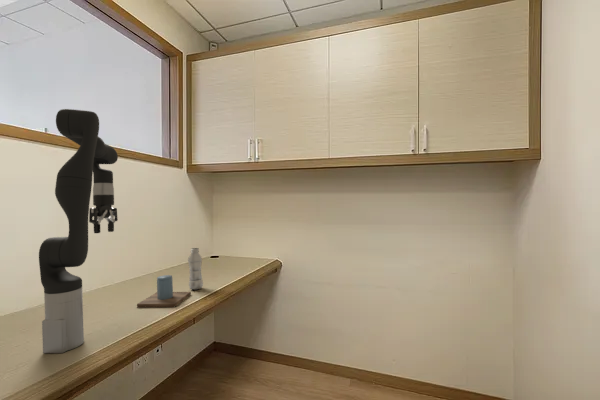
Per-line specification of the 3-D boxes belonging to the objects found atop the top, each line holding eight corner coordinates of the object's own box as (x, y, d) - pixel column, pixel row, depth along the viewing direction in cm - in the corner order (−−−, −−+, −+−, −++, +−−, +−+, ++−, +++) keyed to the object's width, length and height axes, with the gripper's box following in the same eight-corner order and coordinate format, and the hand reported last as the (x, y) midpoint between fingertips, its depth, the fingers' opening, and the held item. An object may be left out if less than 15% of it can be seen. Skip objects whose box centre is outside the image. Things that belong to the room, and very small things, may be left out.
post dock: (175, 307, 126) (174, 287, 126) (137, 307, 126) (136, 288, 126) (190, 294, 142) (190, 277, 142) (156, 295, 142) (156, 278, 142)
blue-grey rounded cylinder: (169, 299, 131) (168, 278, 131) (154, 299, 131) (154, 278, 131) (175, 295, 137) (174, 275, 137) (161, 295, 137) (161, 275, 137)
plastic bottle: (198, 291, 147) (197, 249, 147) (186, 290, 148) (184, 249, 148) (205, 287, 153) (204, 247, 153) (193, 287, 154) (192, 247, 154)
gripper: (100, 193, 123) (101, 233, 123) (122, 194, 137) (123, 230, 137) (82, 193, 123) (83, 234, 123) (106, 195, 138) (106, 231, 137)
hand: (104, 232), depth 130 cm, fingers open, 8 cm apart
